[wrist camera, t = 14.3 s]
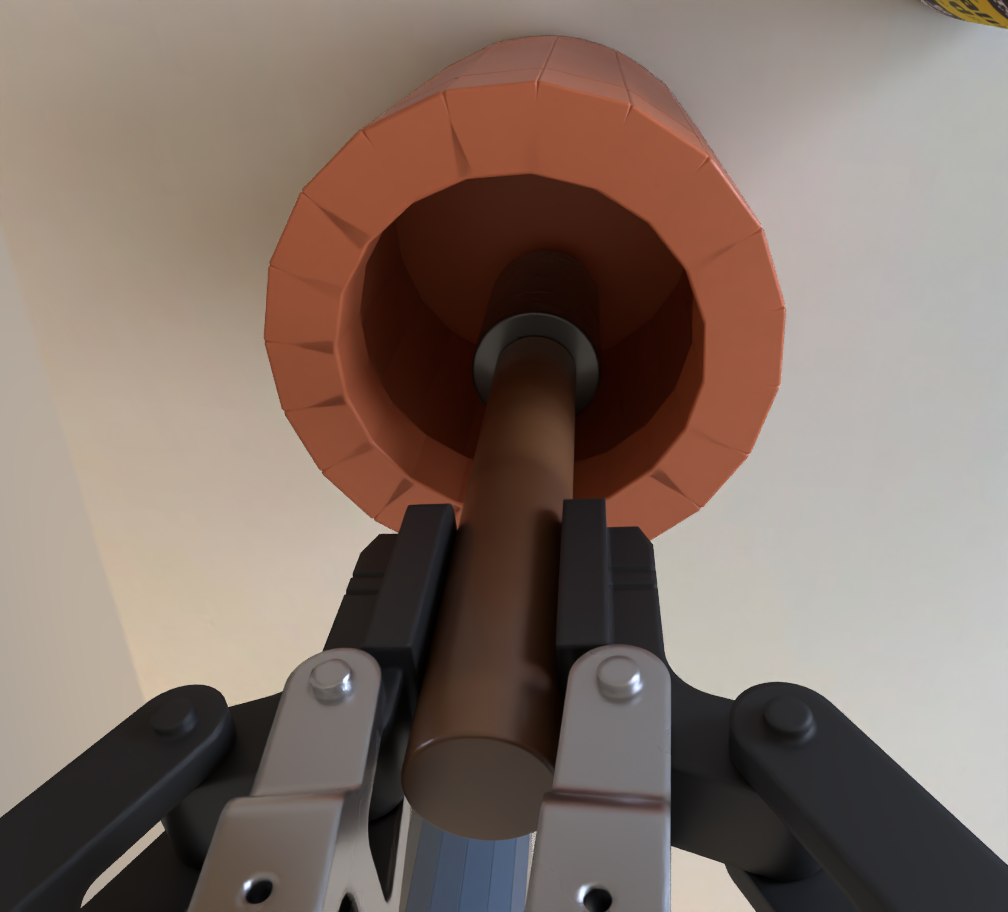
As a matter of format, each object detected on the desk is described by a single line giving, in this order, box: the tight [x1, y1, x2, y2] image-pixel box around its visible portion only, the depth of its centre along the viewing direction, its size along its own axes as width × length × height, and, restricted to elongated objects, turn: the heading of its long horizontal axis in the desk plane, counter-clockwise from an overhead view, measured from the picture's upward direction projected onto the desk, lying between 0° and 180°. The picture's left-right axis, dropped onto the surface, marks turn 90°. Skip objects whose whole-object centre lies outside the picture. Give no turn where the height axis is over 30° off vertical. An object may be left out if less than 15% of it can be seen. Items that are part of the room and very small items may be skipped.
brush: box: [401, 250, 601, 841], centre depth 17 cm, size 3×3×17 cm
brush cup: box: [399, 809, 532, 912], centre depth 39 cm, size 6×6×7 cm
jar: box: [264, 36, 786, 540], centre depth 21 cm, size 10×10×11 cm
